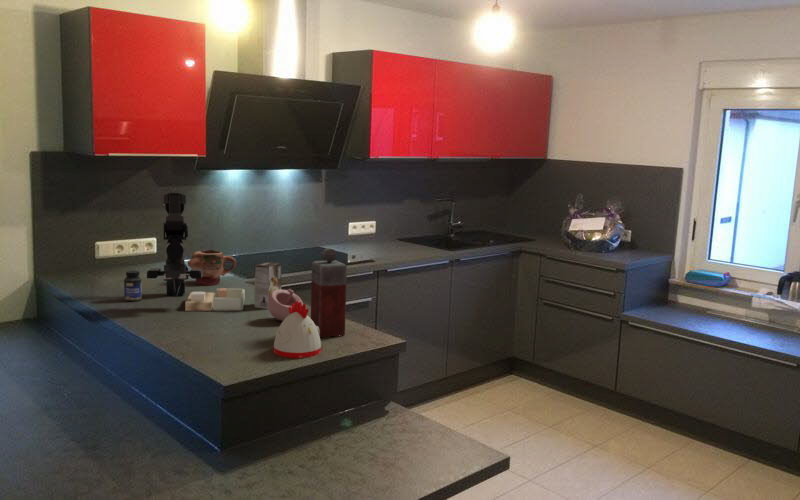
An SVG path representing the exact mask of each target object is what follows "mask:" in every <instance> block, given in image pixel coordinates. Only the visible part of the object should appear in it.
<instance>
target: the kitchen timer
mask: <svg viewBox="0 0 800 500" xmlns="http://www.w3.org/2000/svg"><path fill="white" fill-rule="evenodd" d="M309 310H310V309H309V308H307V305H306V303H303V305H302V303H301V302H299V303H298V301H295V304H292V307H289V312H290V315H289V316H288V317H286V318H285V319H284V321H281V323H280V325H279V327H278V329H277V330H276V332H275V338H274V342H273V353H274V355H276V354H277V356H278V355H279V357H282V356H283V357H282V358H287V357H289V359H304V358H303V357H307V358H311V356H312V357H315V355H316V356H318V355H320V354H321V353H322V341H321V338H320V337H319V333H320V330H319V327H318V326H316V325H315V324H314V322H313V321H312V320H311V316H309V315H308V314H309ZM320 352H321V353H320ZM319 353H320V354H319ZM317 354H318V355H317Z"/></svg>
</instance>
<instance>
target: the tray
mask: <svg viewBox="0 0 800 500" xmlns="http://www.w3.org/2000/svg"><path fill="white" fill-rule="evenodd" d="M219 289H220V288H216V291H215V298H213V307H212V311H217V312H218V311H219V312H220V311H223V312H224V311H243V309H244V304H245V296H246V295H245V294H246V293H245V289H246V288H226V298H219Z"/></svg>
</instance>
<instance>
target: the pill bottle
mask: <svg viewBox="0 0 800 500" xmlns="http://www.w3.org/2000/svg"><path fill="white" fill-rule="evenodd" d="M125 276H126V277H125V278H124V279H123V299H124V302H127V301H136V302H140V301H141V300H142V278H141V277H140V270H126V271H125ZM139 300H140V301H139Z"/></svg>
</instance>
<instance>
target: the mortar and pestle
mask: <svg viewBox="0 0 800 500" xmlns="http://www.w3.org/2000/svg"><path fill="white" fill-rule="evenodd" d="M295 301H298V303H299V302H301V303H302V305H303V304H304V303H303V300H302V299H301V298H300V296H299V295H297V294H296V293H295V291H294V290H293V289H291V288H288V289H282V288H281V289H277V290H274V291H273V292H272V293H271V295H270V296H269V299H268V309H267V310H268V312H269V314H270V315H271V317H273V318H274V319H276V320H277V321H281V322H283V321H284V319H285V318H286V317H288V316H289V315H290V312H289V307H292V304H295Z"/></svg>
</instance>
